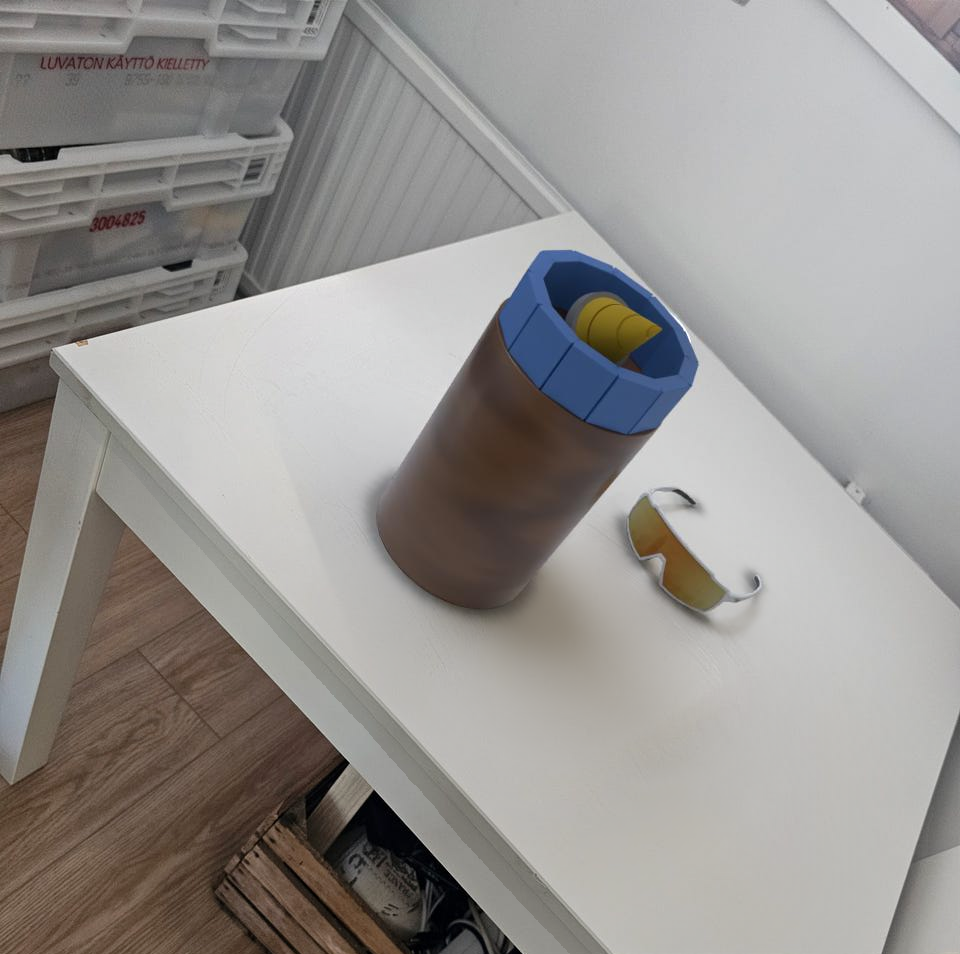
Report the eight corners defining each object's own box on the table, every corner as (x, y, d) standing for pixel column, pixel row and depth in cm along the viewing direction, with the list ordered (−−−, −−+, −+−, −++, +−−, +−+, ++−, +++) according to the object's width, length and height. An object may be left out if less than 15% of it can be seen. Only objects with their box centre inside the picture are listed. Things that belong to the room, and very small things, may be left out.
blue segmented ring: (520, 402, 66) (553, 354, 63) (485, 272, 73) (513, 225, 70) (683, 452, 72) (720, 412, 69) (636, 328, 80) (667, 287, 77)
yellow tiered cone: (611, 356, 76) (702, 353, 68) (554, 384, 74) (640, 385, 66) (590, 284, 74) (682, 272, 65) (531, 311, 72) (617, 303, 64)
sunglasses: (598, 517, 98) (632, 481, 95) (669, 502, 110) (701, 470, 107) (691, 633, 95) (730, 600, 92) (754, 606, 106) (790, 575, 104)
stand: (386, 592, 79) (517, 404, 65) (367, 460, 87) (481, 268, 73) (540, 622, 86) (688, 457, 72) (510, 497, 93) (638, 327, 80)
